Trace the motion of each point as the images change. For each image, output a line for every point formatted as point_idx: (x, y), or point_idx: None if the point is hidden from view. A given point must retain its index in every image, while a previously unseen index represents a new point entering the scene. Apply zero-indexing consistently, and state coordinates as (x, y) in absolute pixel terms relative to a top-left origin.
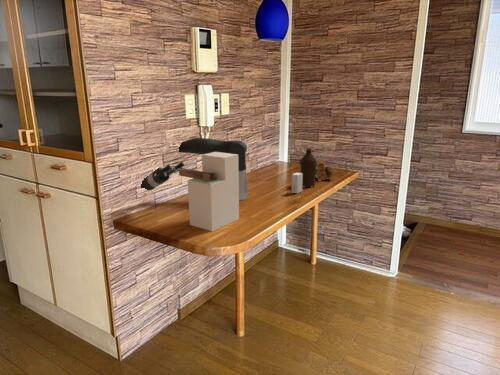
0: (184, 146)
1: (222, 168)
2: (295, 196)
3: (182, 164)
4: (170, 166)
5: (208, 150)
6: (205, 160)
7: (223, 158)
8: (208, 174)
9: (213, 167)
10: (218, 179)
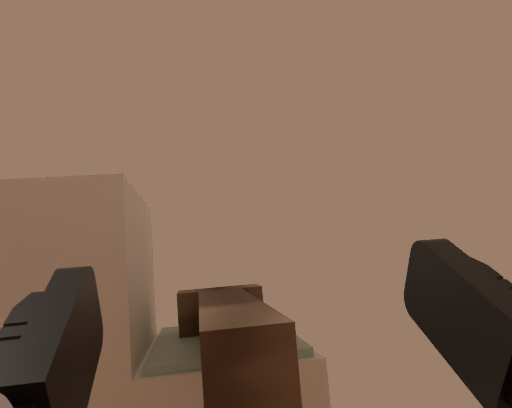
0: None
1: (151, 267)
2: None
3: (96, 315)
4: (409, 268)
5: None
6: (131, 224)
7: (149, 210)
8: (236, 286)
9: (143, 271)
10: (177, 330)
